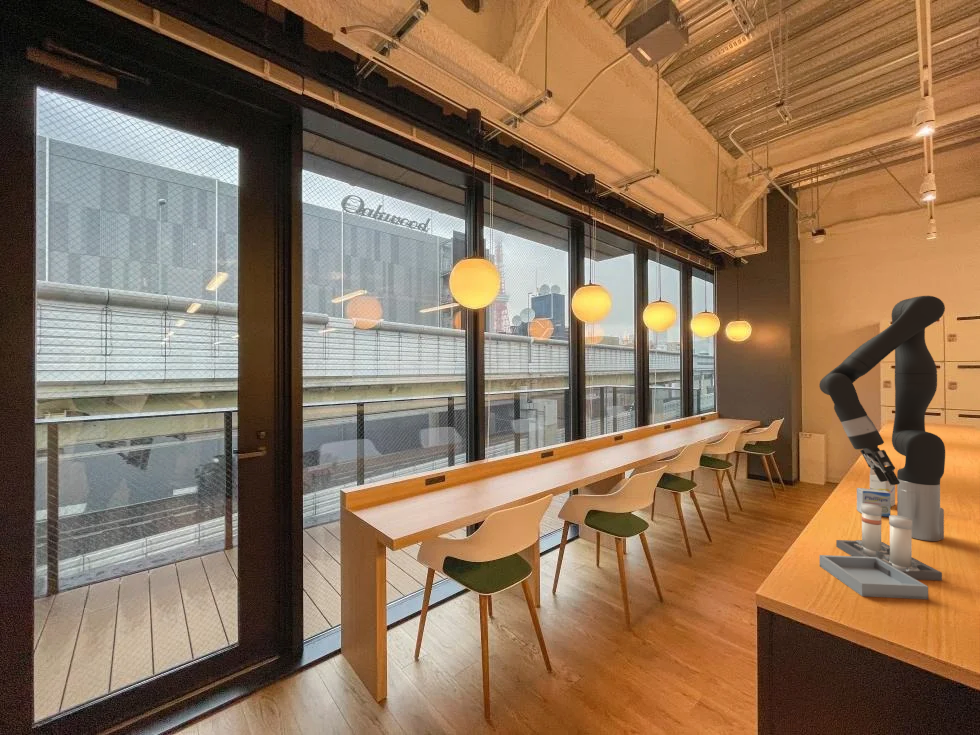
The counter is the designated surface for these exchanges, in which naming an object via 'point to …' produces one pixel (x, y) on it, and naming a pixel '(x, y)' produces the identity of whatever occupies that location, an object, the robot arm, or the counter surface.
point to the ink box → (882, 486)
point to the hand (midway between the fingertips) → (889, 482)
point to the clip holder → (916, 572)
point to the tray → (873, 577)
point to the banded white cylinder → (871, 528)
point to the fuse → (900, 541)
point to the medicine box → (874, 499)
